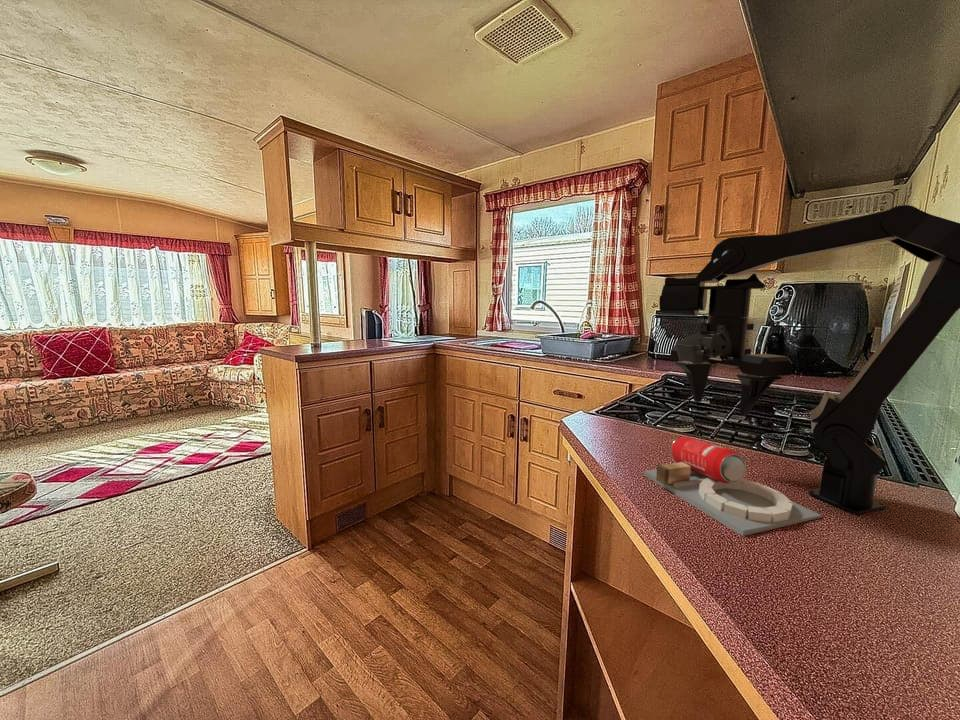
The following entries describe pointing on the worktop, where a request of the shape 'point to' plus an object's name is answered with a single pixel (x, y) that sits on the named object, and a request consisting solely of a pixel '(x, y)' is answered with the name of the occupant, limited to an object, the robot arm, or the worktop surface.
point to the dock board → (738, 503)
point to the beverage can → (709, 459)
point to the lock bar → (673, 473)
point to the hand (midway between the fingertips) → (719, 408)
